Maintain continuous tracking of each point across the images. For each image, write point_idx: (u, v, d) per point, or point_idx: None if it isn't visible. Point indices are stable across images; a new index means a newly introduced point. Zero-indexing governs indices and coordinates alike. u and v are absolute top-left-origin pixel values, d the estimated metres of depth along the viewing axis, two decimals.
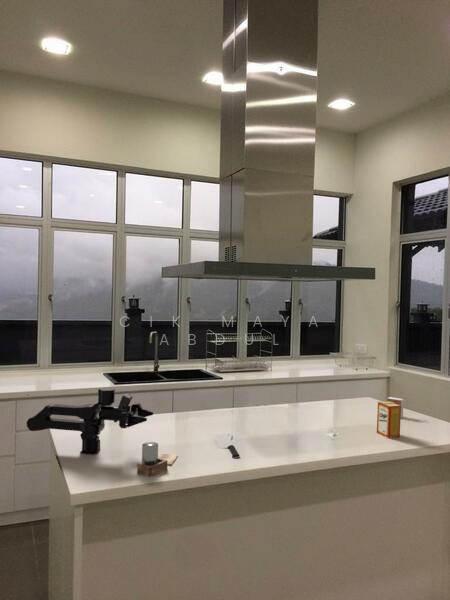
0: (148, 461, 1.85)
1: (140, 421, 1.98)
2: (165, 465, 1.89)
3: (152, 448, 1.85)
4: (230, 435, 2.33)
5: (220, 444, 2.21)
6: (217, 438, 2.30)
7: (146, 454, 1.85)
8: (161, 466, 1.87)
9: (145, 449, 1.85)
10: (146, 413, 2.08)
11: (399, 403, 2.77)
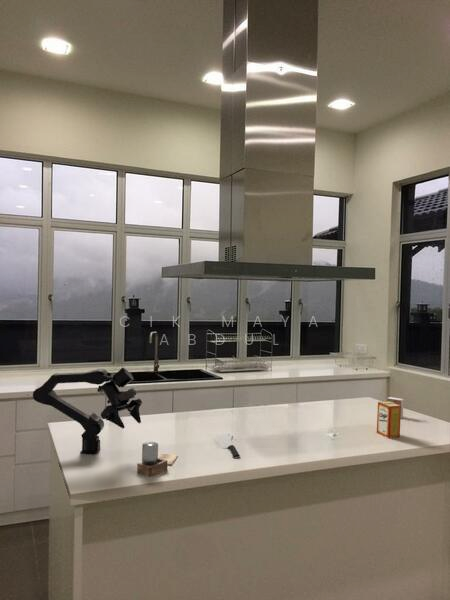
0: (148, 461, 1.85)
1: (118, 424, 1.96)
2: (165, 465, 1.89)
3: (152, 448, 1.85)
4: (230, 435, 2.32)
5: (220, 444, 2.21)
6: (217, 438, 2.30)
7: (146, 454, 1.85)
8: (161, 466, 1.87)
9: (145, 449, 1.85)
10: (136, 417, 2.04)
11: (399, 403, 2.77)
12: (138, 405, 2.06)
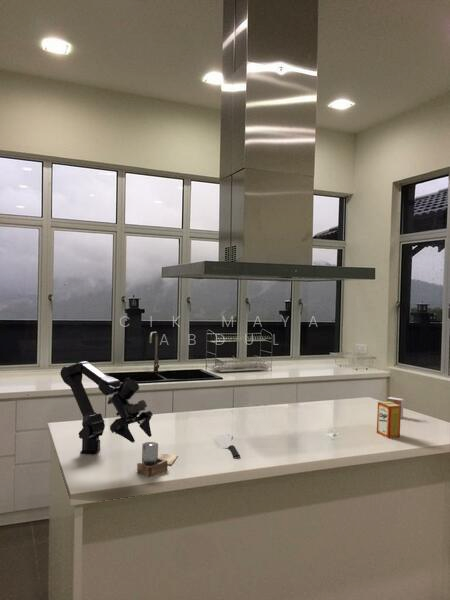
0: (148, 461, 1.85)
1: (128, 438, 1.87)
2: (165, 465, 1.89)
3: (152, 448, 1.85)
4: (230, 435, 2.32)
5: (220, 444, 2.21)
6: (217, 438, 2.30)
7: (146, 454, 1.85)
8: (161, 466, 1.87)
9: (145, 449, 1.85)
10: (146, 430, 1.95)
11: (399, 403, 2.77)
12: (148, 418, 1.97)
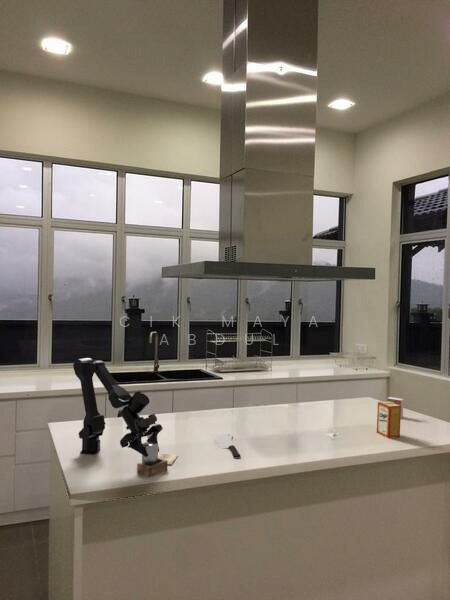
0: (148, 461, 1.85)
1: (141, 452, 1.85)
2: (165, 465, 1.89)
3: (152, 448, 1.85)
4: (230, 435, 2.32)
5: (220, 444, 2.21)
6: (217, 438, 2.29)
7: None
8: (161, 466, 1.87)
9: (145, 449, 1.85)
10: None
11: (399, 403, 2.77)
12: (156, 432, 1.93)
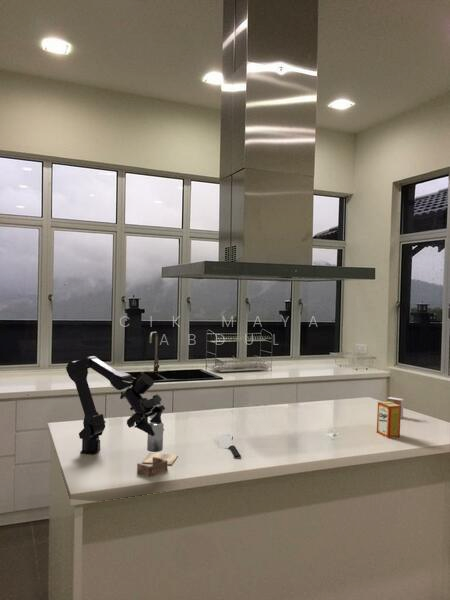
0: (154, 440, 1.89)
1: (147, 431, 1.89)
2: (165, 465, 1.89)
3: (158, 427, 1.89)
4: (230, 435, 2.32)
5: (221, 444, 2.21)
6: (217, 438, 2.29)
7: None
8: (161, 466, 1.87)
9: None
10: None
11: (399, 403, 2.77)
12: (160, 412, 1.97)
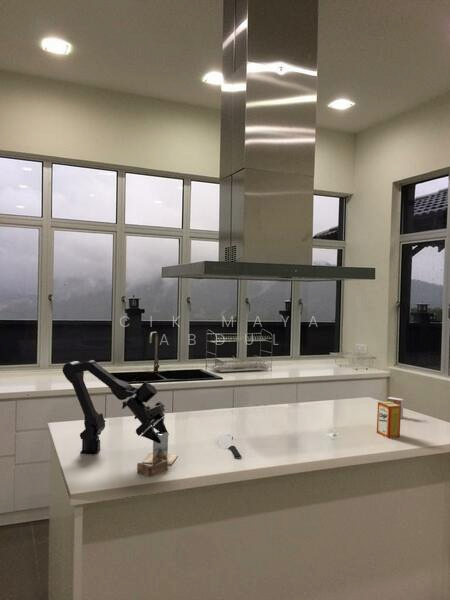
0: (162, 450, 1.97)
1: (154, 439, 1.94)
2: (165, 465, 1.89)
3: (165, 437, 1.98)
4: (230, 435, 2.32)
5: (221, 445, 2.21)
6: (217, 439, 2.29)
7: (159, 443, 1.97)
8: (161, 466, 1.87)
9: None
10: (163, 431, 2.04)
11: (399, 403, 2.77)
12: (163, 418, 2.06)
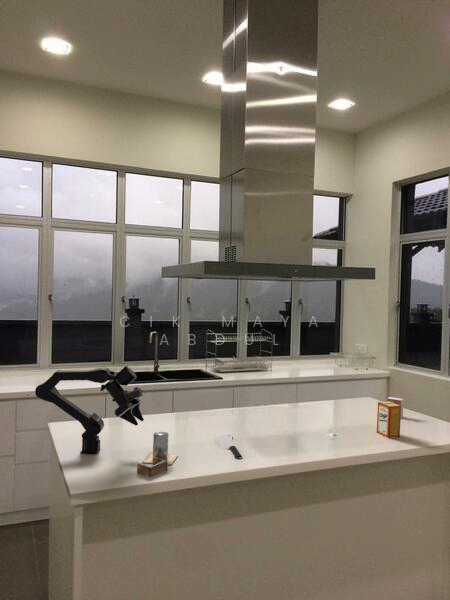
0: (162, 450, 1.97)
1: (131, 421, 1.99)
2: (165, 465, 1.89)
3: (165, 437, 1.98)
4: (230, 436, 2.32)
5: (221, 445, 2.20)
6: (218, 439, 2.29)
7: (159, 443, 1.97)
8: (161, 466, 1.87)
9: (159, 438, 1.97)
10: (138, 415, 2.09)
11: (399, 403, 2.77)
12: (139, 404, 2.11)
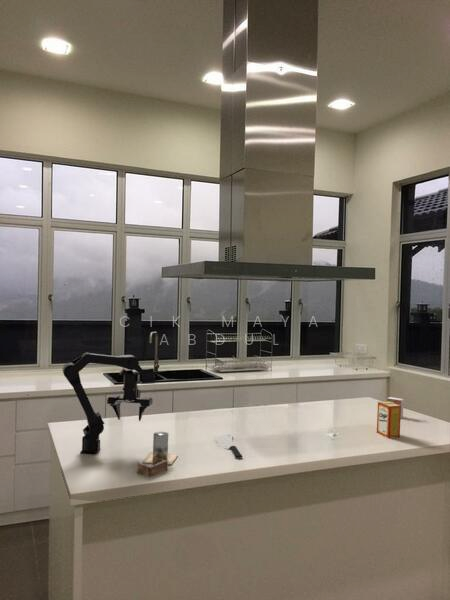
0: (162, 450, 1.97)
1: (141, 415, 2.11)
2: (165, 465, 1.89)
3: (165, 437, 1.97)
4: (231, 436, 2.32)
5: (221, 445, 2.20)
6: (218, 439, 2.29)
7: (159, 443, 1.97)
8: (161, 466, 1.87)
9: (159, 438, 1.97)
10: (119, 413, 2.13)
11: (399, 403, 2.77)
12: None
